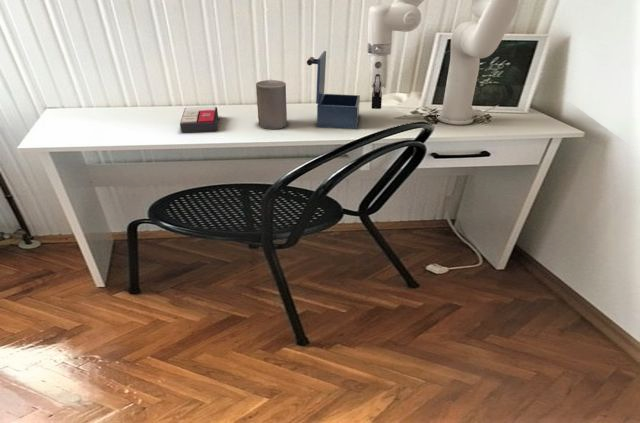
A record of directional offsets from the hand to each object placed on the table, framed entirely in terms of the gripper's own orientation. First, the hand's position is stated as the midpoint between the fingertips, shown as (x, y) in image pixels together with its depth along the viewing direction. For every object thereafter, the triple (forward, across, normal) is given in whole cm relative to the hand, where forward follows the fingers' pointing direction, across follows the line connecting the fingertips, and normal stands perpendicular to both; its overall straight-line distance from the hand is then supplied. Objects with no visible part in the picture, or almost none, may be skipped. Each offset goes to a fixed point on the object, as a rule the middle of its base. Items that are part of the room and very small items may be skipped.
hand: (376, 106), depth 138 cm
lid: (-10, 0, +18) cm, 21 cm away
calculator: (+4, -12, +58) cm, 60 cm away
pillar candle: (+5, -8, +34) cm, 36 cm away
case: (+5, 0, +13) cm, 14 cm away
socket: (0, 0, 0) cm, 0 cm away
